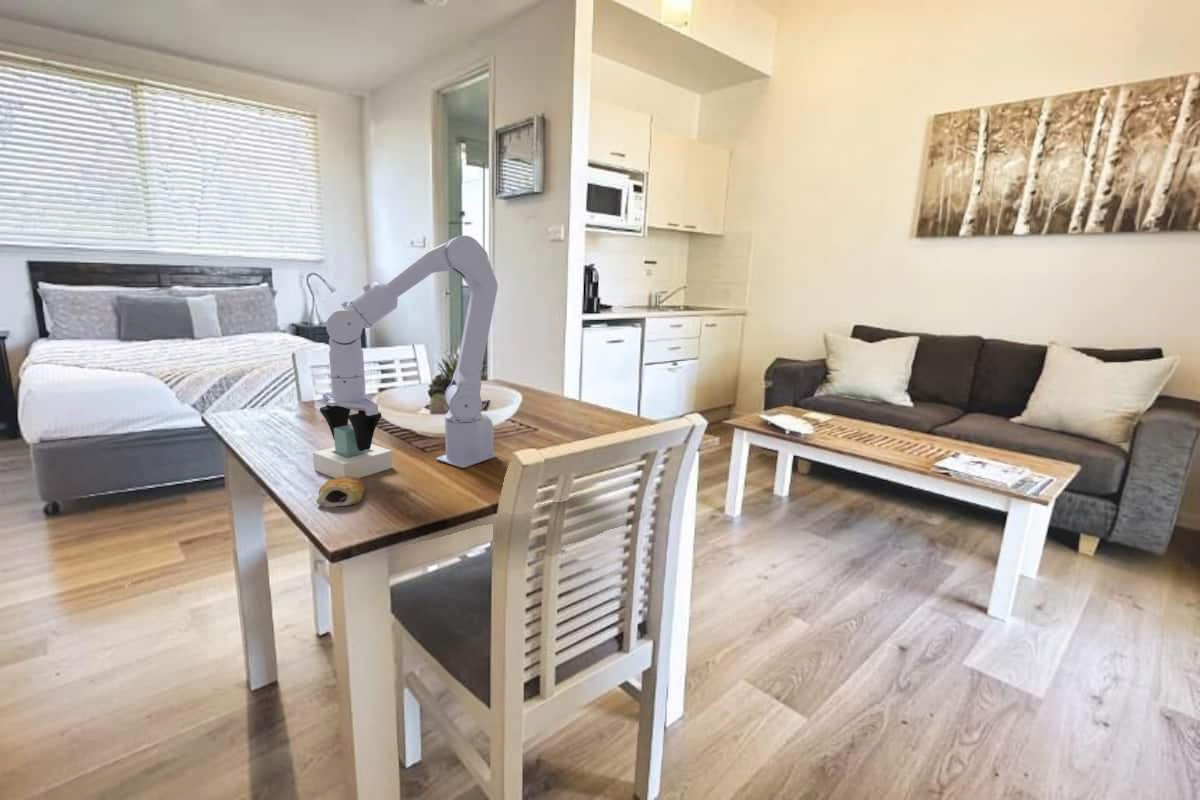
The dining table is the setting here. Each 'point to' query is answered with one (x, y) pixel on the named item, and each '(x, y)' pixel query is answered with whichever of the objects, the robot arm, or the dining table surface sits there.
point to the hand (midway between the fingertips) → (352, 445)
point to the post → (346, 442)
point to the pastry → (341, 492)
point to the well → (352, 462)
